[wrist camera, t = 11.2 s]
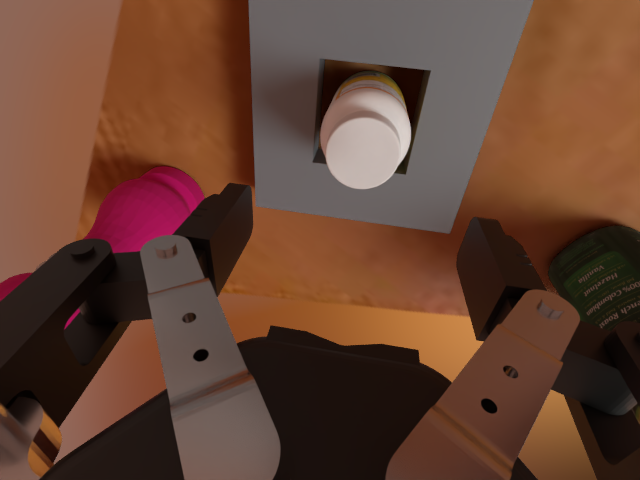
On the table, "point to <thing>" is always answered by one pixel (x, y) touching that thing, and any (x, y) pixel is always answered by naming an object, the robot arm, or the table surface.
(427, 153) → the socket block
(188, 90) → the table surface
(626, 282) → the coffee jar
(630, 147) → the table surface
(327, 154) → the supplement bottle
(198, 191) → the pepper mill
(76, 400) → the robot arm
